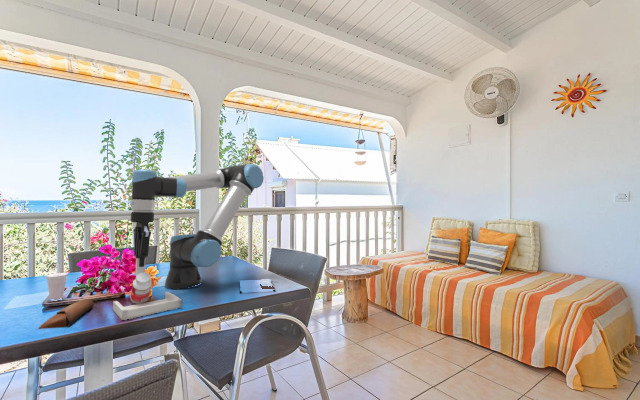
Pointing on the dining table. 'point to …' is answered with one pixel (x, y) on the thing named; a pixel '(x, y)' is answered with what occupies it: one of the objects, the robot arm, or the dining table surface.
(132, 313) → the tray
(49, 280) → the smoothie
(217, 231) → the robot arm
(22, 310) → the dining table surface
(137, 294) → the pill bottle
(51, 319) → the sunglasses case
